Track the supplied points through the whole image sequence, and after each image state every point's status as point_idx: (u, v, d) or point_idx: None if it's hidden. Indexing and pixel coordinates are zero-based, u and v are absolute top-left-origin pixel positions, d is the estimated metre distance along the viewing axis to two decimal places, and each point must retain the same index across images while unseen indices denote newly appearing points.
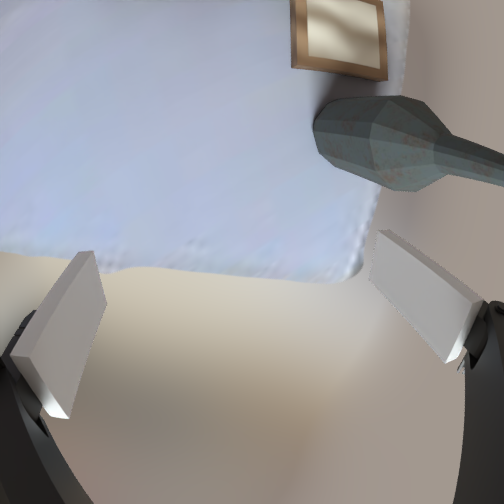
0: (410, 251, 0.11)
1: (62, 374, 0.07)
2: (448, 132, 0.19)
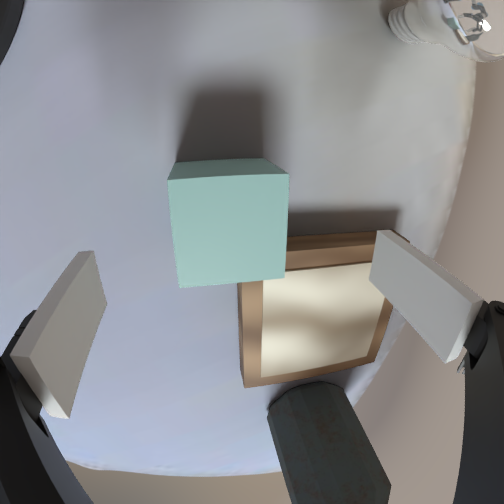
0: (410, 251, 0.11)
1: (62, 374, 0.07)
2: None
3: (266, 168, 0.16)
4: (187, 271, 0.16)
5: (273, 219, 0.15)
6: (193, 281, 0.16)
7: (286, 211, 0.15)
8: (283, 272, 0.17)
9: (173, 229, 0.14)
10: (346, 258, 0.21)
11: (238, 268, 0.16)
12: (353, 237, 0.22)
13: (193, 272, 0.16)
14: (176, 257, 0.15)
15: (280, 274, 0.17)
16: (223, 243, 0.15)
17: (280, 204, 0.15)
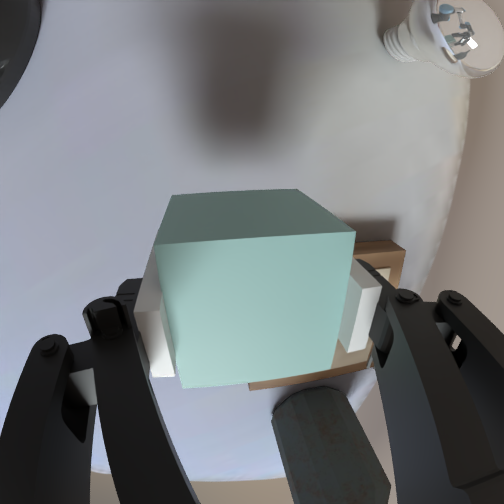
0: None
1: None
2: None
3: (314, 215, 0.10)
4: (193, 371, 0.10)
5: (325, 300, 0.10)
6: (203, 381, 0.10)
7: (345, 287, 0.10)
8: (330, 363, 0.11)
9: (169, 319, 0.09)
10: None
11: (268, 364, 0.10)
12: None
13: (202, 372, 0.10)
14: (176, 354, 0.10)
15: (325, 365, 0.11)
16: (248, 335, 0.10)
17: (338, 278, 0.09)
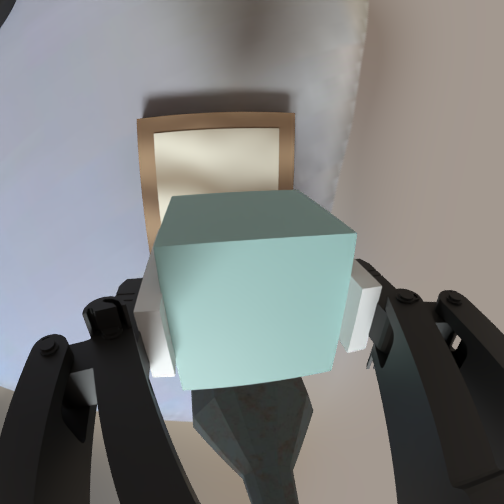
0: None
1: None
2: (272, 463, 0.16)
3: (314, 217, 0.10)
4: (194, 373, 0.10)
5: (326, 302, 0.10)
6: (203, 383, 0.10)
7: (346, 289, 0.09)
8: (330, 364, 0.11)
9: (169, 321, 0.09)
10: (227, 123, 0.24)
11: (268, 366, 0.10)
12: None
13: (203, 374, 0.10)
14: (176, 356, 0.09)
15: (326, 367, 0.11)
16: (248, 338, 0.10)
17: (339, 279, 0.09)
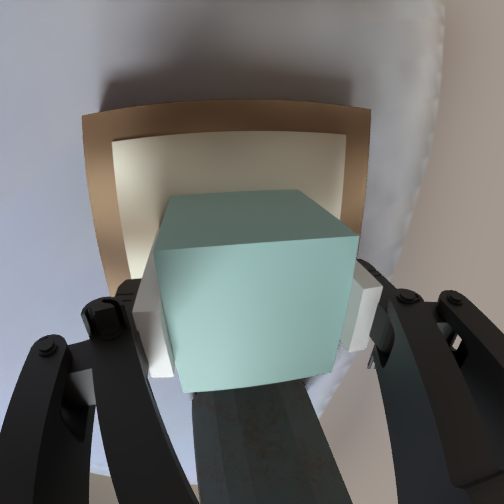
0: None
1: None
2: None
3: (316, 218, 0.10)
4: (194, 375, 0.10)
5: (328, 304, 0.09)
6: (204, 385, 0.10)
7: (348, 291, 0.09)
8: (331, 366, 0.11)
9: (169, 325, 0.09)
10: (254, 120, 0.12)
11: (269, 369, 0.10)
12: None
13: (203, 376, 0.10)
14: (176, 360, 0.09)
15: (327, 369, 0.11)
16: (249, 340, 0.10)
17: (341, 282, 0.09)
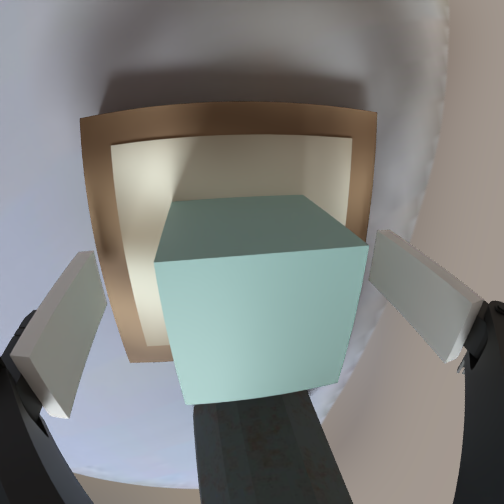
0: (410, 251, 0.11)
1: (62, 374, 0.07)
2: None
3: (323, 226, 0.10)
4: (197, 388, 0.09)
5: (335, 316, 0.09)
6: (207, 397, 0.10)
7: (356, 302, 0.09)
8: (337, 377, 0.11)
9: (171, 338, 0.08)
10: (257, 123, 0.12)
11: (274, 381, 0.10)
12: None
13: (206, 389, 0.10)
14: (179, 372, 0.09)
15: (332, 379, 0.11)
16: (254, 353, 0.09)
17: (349, 293, 0.09)
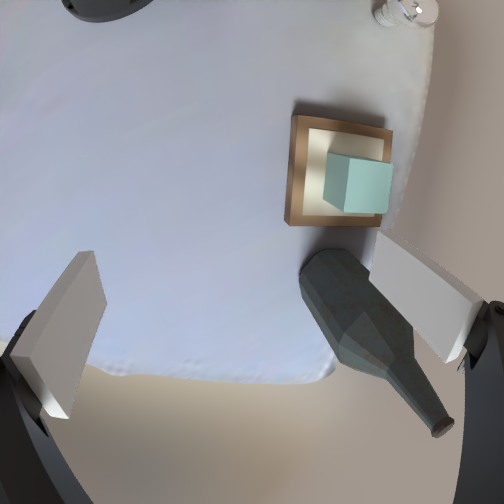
0: (410, 251, 0.11)
1: (62, 374, 0.07)
2: (407, 352, 0.25)
3: (380, 161, 0.31)
4: (349, 203, 0.31)
5: (386, 183, 0.31)
6: (350, 209, 0.31)
7: (391, 180, 0.30)
8: (386, 210, 0.32)
9: (348, 181, 0.30)
10: (355, 130, 0.34)
11: (369, 205, 0.31)
12: None
13: (351, 204, 0.31)
14: (346, 195, 0.30)
15: (385, 211, 0.32)
16: (366, 191, 0.31)
17: (389, 177, 0.30)
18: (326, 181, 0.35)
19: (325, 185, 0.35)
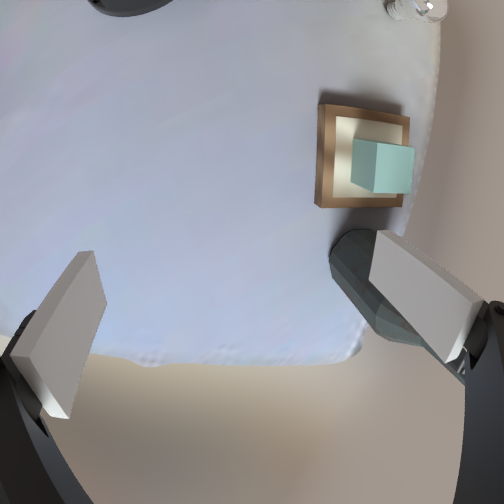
0: (410, 251, 0.11)
1: (62, 374, 0.07)
2: None
3: (402, 145, 0.32)
4: (378, 184, 0.32)
5: (409, 166, 0.32)
6: (379, 189, 0.32)
7: (413, 163, 0.32)
8: (410, 190, 0.33)
9: (376, 164, 0.31)
10: (377, 118, 0.34)
11: (395, 186, 0.32)
12: None
13: (380, 185, 0.32)
14: (375, 177, 0.32)
15: (409, 191, 0.33)
16: (392, 173, 0.32)
17: (411, 159, 0.31)
18: (353, 165, 0.36)
19: (352, 169, 0.36)
